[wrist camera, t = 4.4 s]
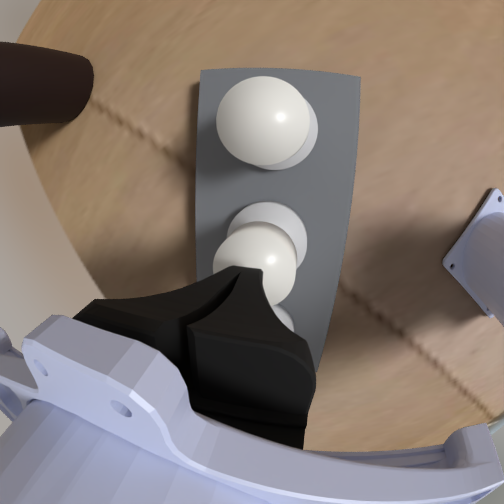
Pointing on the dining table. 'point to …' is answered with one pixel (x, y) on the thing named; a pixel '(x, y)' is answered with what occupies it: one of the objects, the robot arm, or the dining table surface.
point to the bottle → (41, 84)
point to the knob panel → (284, 190)
